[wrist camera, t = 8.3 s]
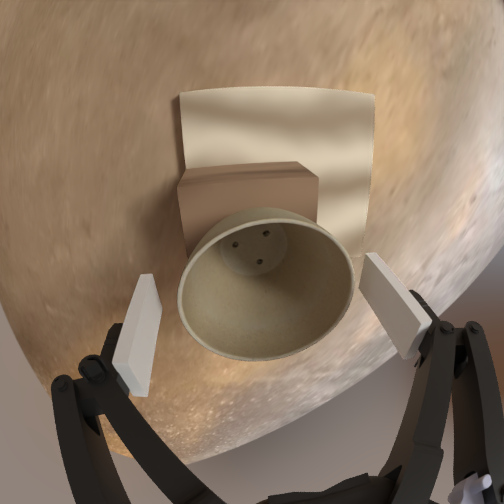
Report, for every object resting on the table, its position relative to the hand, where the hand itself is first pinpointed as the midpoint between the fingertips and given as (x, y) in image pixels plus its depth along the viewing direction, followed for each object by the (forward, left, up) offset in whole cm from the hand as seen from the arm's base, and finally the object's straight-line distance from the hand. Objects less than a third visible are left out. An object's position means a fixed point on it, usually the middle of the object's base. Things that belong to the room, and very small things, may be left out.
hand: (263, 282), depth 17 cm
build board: (-3, +4, -12) cm, 13 cm away
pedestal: (0, 0, -11) cm, 11 cm away
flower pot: (0, 0, -5) cm, 5 cm away
